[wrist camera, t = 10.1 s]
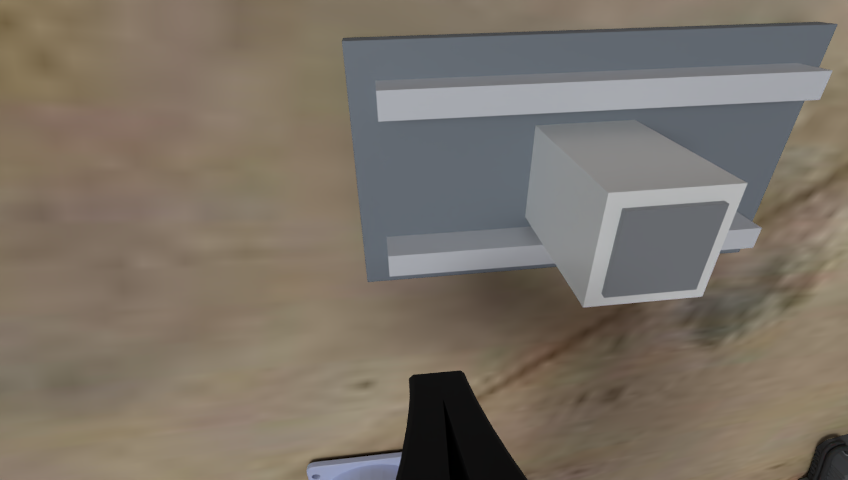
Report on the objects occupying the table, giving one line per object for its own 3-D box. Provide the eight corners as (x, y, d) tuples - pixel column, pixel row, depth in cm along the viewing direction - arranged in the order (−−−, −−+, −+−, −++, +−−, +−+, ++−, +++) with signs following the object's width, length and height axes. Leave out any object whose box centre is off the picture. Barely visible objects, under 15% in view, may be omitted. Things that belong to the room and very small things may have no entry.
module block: (613, 210, 19) (706, 300, 14) (525, 216, 19) (585, 311, 14) (634, 119, 17) (752, 186, 12) (535, 125, 17) (612, 196, 12)
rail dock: (727, 243, 22) (762, 269, 20) (367, 271, 20) (367, 303, 19) (818, 22, 17) (877, 28, 15) (343, 38, 15) (339, 48, 13)
